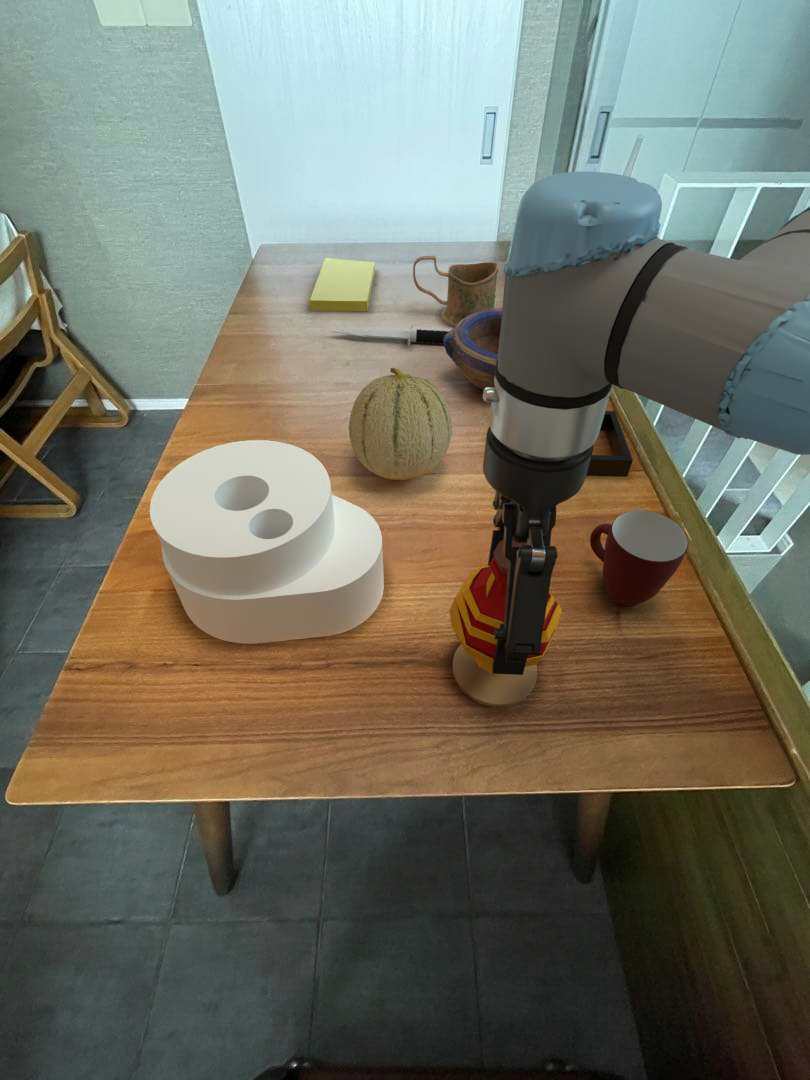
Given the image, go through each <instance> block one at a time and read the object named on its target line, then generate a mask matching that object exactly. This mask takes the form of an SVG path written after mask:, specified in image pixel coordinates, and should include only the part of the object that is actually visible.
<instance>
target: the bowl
mask: <svg viewBox="0 0 810 1080" xmlns="http://www.w3.org/2000/svg"><path fill="white" fill-rule="evenodd" d="M502 309H503V307H498V308H493V309H491V310H484V311H480V312H477V313H474V314H471V315H469V316H467V317H466V318H464V319H463V320H461V321H460V322H459V323H458V325H457V326H456V327H453V328H452V329H450V330H448V331H449V332H448V331H447V332H448V333H447V334H446V335H445V336H444V339H443V342H444V344H443V348H444V350H445V353H446V354H447V356H448V358H450V359H451V360H452V362H453V363H454V364H455V365H456V366H457V367H458V369H459V371H460V372H461V373H462V375H463V376H464V377H465V379H467V381H469V383H471V384H472V385H474V386H475V387H477V388H479V389H481V390H482V391H483V390H484V389H485V388H489V387H491V388H495V384H494V378H495V369H496V360H497V356H498V349H499V339H500V330H501V320H502Z"/></svg>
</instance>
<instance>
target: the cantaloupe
mask: <svg viewBox="0 0 810 1080" xmlns="http://www.w3.org/2000/svg"><path fill="white" fill-rule="evenodd" d="M390 373H392V374H388V375H383V376H380V377H377V378H375V379H373V380H372V381H370V382H369V383H367V384H366V385H365V386H364V387H363V388H362V389H361V391H360V392H359V394H358V395H357V397H356V398H355V400H354V402H353V405H352V409H351V411H350V416H349V421H348V433H349V440H350V444H351V449H352V451H353V453H354V455H355V456H356V458H357V459H358V460H359V462H360V463H361V465H363V467H364V468H366V469H367V470H368V471H370V472H371V473H373V474H374V475H376V476H378V477H381V478H384V479H386V480H392V481H393V480H395V481H397V480H400V481H401V480H402V481H403V480H406V481H407V480H412V479H416V478H419V477H422V476H424V475H426V474H428V473H430V472H431V471H433V470H434V469H435V468H436V467H437V466H438V464H439V463H441V461H443V459H444V457H445V455H446V454H447V452H448V449H449V448H450V444H451V439H452V435H453V421H452V414H451V410H450V408H449V405H448V403H447V401H446V399H445V398H444V396H443V394H442V392H441V391H440V390H439V389H438V388H437V387H436V386H435V385H434V383H432V382H430V381H429V380H427V379H425V378H422V377H420V376H416V375H412V374H407V373H406V374H405V373H403V371H401V370H400V369H398V368H397V367H390Z"/></svg>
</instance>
